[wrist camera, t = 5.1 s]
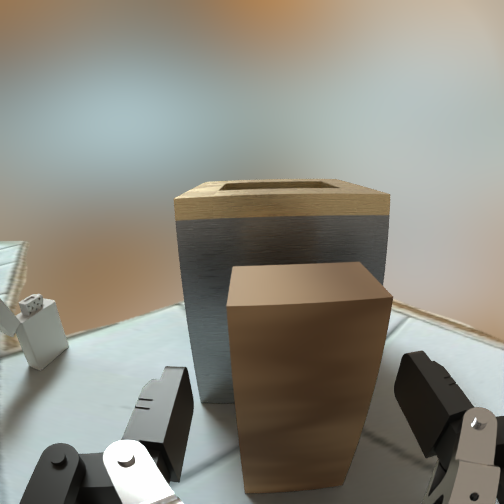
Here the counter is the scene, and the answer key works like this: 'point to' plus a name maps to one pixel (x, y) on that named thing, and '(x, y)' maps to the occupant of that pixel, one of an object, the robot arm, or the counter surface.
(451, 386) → the robot arm
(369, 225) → the coin box
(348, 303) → the wooden block
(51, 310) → the lighter
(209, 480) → the counter surface
